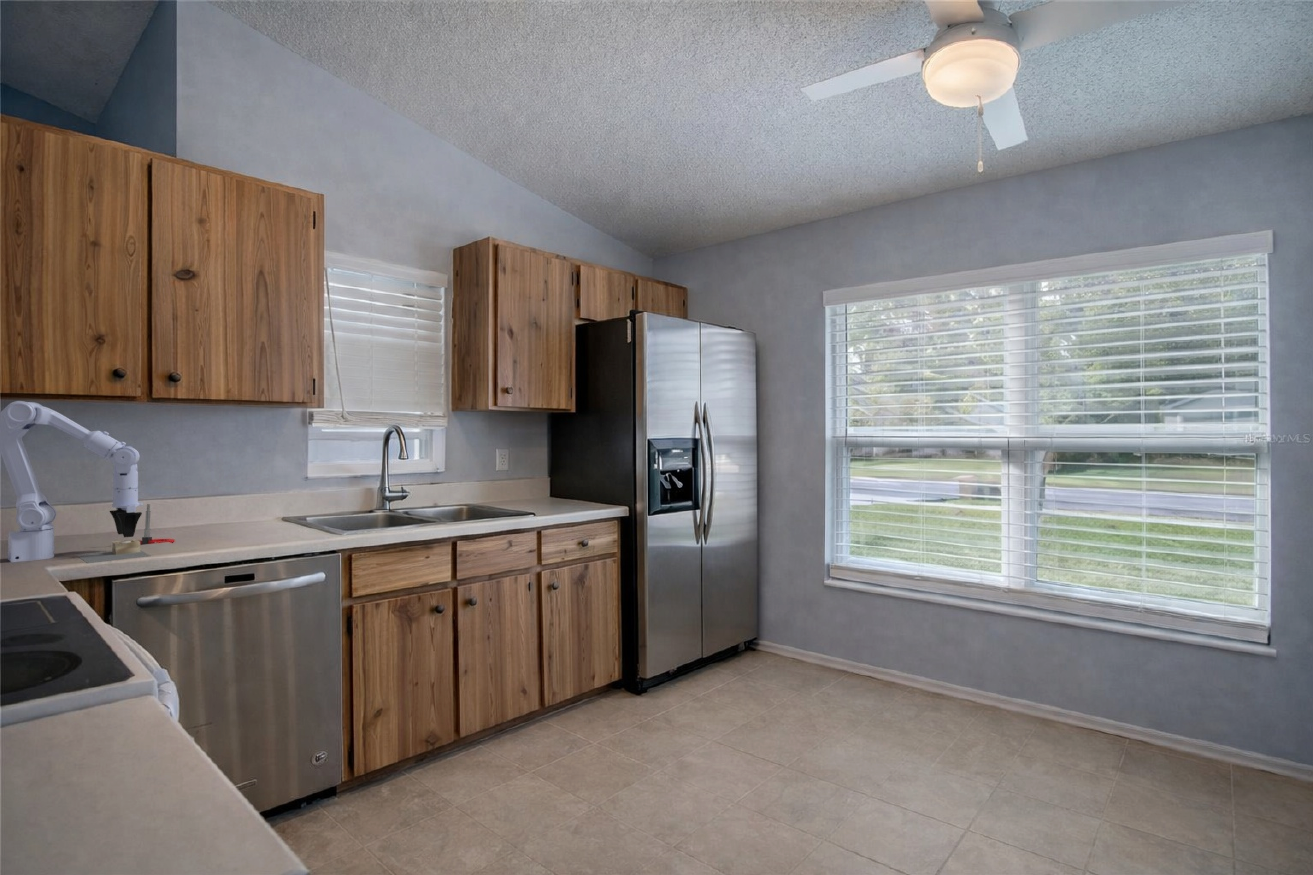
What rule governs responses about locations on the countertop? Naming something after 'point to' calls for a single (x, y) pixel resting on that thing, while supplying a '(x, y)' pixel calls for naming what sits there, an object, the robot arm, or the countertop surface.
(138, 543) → the collar
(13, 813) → the countertop surface
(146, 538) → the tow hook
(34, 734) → the countertop surface
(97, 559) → the post mat
